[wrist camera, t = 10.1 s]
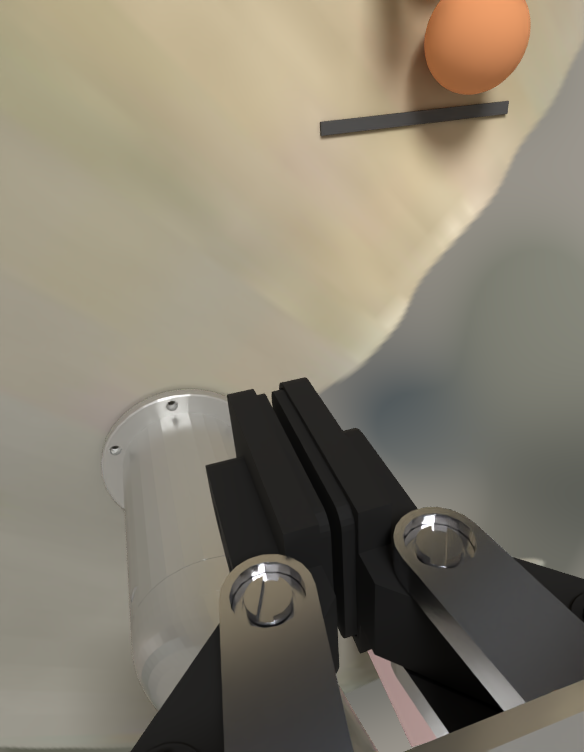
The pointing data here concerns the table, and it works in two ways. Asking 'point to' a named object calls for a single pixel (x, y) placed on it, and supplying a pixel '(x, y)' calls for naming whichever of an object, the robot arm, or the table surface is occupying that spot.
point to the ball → (476, 42)
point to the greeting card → (402, 704)
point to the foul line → (412, 118)
